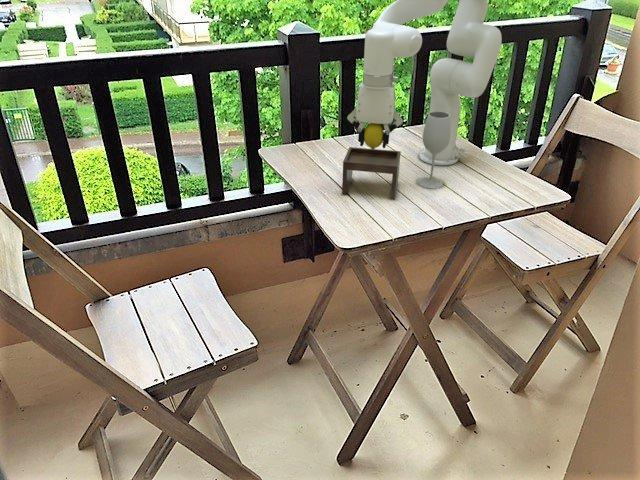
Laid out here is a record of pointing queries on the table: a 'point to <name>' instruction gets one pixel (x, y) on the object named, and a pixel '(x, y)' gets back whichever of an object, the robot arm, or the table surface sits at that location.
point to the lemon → (373, 135)
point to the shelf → (371, 165)
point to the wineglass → (435, 142)
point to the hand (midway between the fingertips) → (373, 144)
